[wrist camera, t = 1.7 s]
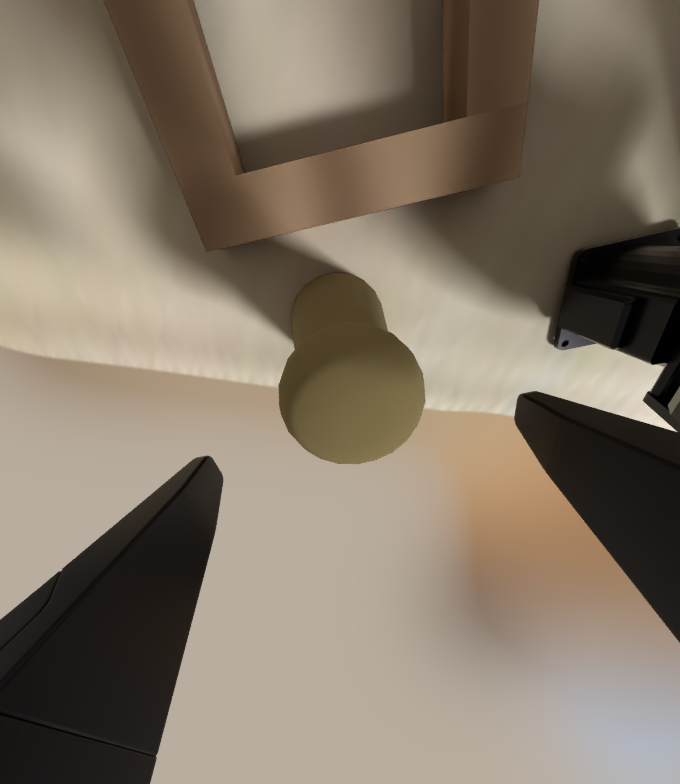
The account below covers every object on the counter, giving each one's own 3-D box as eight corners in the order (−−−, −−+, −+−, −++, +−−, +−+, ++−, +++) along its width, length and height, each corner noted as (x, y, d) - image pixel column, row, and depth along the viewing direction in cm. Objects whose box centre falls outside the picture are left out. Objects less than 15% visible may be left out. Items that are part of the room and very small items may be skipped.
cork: (394, 344, 19) (466, 458, 10) (314, 375, 20) (309, 508, 10) (365, 255, 16) (431, 291, 7) (274, 296, 17) (214, 380, 7)
